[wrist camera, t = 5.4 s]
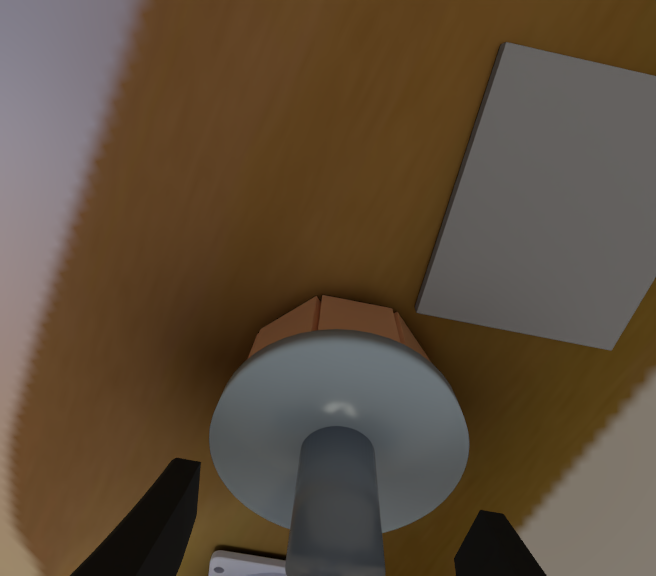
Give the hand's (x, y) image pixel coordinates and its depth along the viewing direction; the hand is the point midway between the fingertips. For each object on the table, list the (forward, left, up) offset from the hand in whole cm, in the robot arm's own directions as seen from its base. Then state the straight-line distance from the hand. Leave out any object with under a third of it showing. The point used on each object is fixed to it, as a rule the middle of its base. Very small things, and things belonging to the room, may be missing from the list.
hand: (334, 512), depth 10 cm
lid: (0, 0, -3) cm, 3 cm away
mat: (+8, -6, -6) cm, 11 cm away
